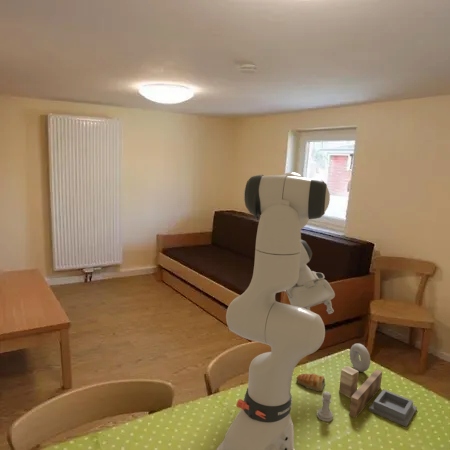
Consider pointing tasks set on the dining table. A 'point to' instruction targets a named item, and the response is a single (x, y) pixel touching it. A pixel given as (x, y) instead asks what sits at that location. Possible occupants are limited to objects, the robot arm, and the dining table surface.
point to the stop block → (348, 381)
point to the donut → (364, 356)
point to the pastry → (311, 381)
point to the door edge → (365, 393)
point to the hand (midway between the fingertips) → (323, 316)
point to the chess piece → (325, 408)
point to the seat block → (393, 407)
